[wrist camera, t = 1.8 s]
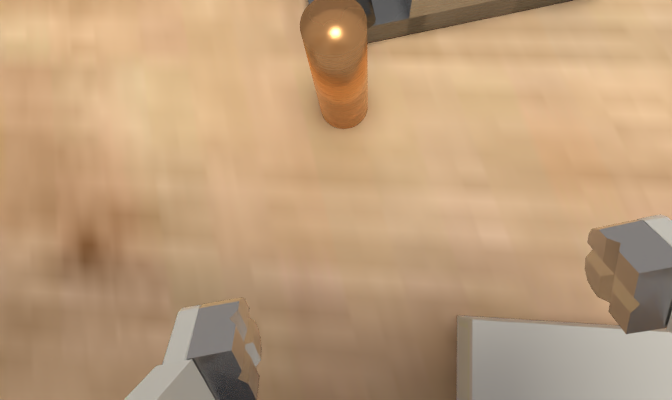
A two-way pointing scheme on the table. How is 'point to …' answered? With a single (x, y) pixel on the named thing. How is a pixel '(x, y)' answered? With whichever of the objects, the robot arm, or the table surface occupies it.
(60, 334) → the table surface
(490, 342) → the disc drive
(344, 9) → the copper pin
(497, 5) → the metal clamp fixture
